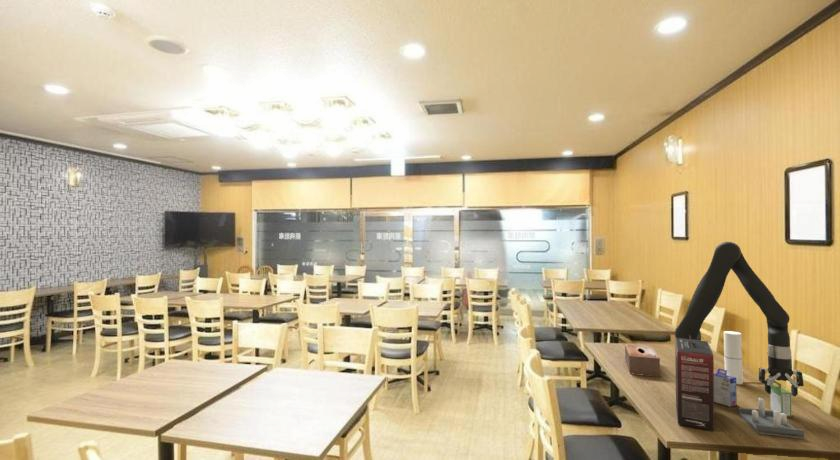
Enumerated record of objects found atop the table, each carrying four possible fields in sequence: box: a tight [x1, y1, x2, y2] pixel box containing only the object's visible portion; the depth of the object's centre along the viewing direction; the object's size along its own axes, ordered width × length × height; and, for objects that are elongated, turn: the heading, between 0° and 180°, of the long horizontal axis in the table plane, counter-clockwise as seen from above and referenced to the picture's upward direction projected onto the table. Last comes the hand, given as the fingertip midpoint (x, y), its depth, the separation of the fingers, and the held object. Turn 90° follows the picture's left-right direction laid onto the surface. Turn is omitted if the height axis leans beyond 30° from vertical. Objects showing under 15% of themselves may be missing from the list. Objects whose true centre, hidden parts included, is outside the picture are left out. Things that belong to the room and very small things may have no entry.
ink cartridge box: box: [714, 368, 738, 408], centre depth 181 cm, size 10×6×14 cm, turn 27°
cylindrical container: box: [723, 330, 744, 385], centre depth 206 cm, size 7×7×25 cm
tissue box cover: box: [624, 343, 661, 378], centre depth 229 cm, size 26×14×10 cm, turn 158°
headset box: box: [674, 335, 715, 432], centre depth 168 cm, size 24×13×33 cm, turn 149°
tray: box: [738, 397, 805, 440], centre depth 158 cm, size 14×17×8 cm
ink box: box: [769, 380, 793, 418], centre depth 169 cm, size 7×4×13 cm, turn 168°
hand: (781, 394), depth 169 cm, fingers open, 8 cm apart
